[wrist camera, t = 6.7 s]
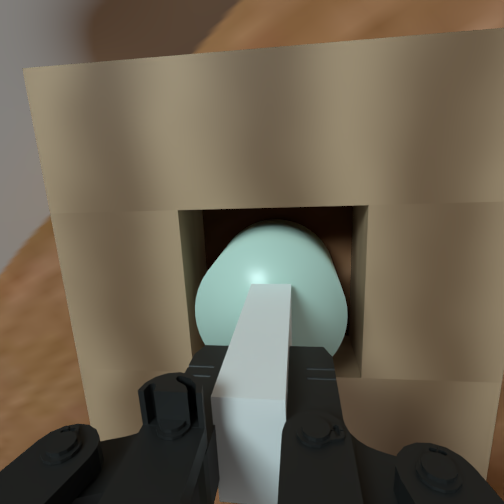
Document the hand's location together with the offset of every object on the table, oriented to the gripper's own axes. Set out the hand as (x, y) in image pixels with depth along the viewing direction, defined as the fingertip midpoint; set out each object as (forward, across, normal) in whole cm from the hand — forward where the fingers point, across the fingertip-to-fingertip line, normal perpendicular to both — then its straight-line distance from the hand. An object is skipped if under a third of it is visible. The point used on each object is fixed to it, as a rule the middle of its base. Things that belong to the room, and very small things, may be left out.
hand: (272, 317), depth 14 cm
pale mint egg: (+5, 0, 0) cm, 5 cm away
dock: (+6, 0, 0) cm, 6 cm away
